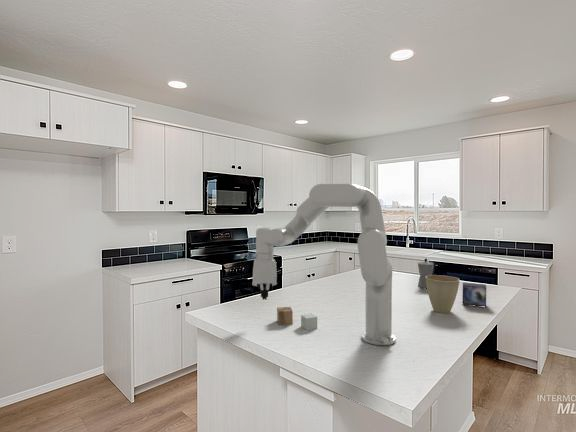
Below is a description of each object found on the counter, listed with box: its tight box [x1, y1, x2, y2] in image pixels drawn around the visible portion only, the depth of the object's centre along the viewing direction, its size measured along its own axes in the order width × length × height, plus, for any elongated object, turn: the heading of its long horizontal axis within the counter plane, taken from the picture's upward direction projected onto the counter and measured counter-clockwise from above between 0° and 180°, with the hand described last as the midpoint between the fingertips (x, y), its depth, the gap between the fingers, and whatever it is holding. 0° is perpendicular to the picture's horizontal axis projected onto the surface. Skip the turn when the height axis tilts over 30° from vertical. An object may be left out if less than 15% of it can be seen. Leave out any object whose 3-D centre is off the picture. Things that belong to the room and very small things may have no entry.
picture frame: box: [462, 282, 487, 308], centre depth 169 cm, size 11×6×10 cm, turn 62°
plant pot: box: [426, 274, 460, 314], centre depth 160 cm, size 15×15×16 cm
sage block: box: [300, 313, 318, 331], centre depth 139 cm, size 5×5×5 cm
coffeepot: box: [417, 258, 437, 289], centre depth 209 cm, size 15×9×18 cm, turn 118°
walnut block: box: [276, 306, 294, 326], centre depth 145 cm, size 6×6×6 cm
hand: (264, 298), depth 144 cm, fingers closed
